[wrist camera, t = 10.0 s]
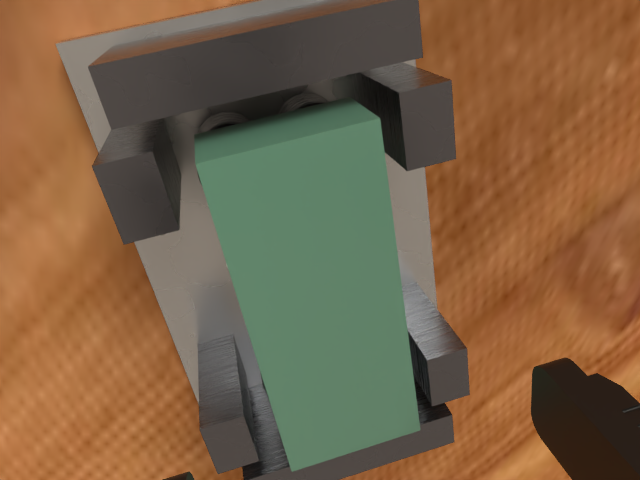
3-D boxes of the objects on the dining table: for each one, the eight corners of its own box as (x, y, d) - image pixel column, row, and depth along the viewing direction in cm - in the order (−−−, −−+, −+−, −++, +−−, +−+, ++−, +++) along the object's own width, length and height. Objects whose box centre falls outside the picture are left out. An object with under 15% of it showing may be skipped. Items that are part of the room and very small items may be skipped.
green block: (194, 134, 16) (195, 164, 13) (349, 96, 17) (380, 118, 14) (279, 412, 22) (291, 471, 19) (393, 377, 22) (420, 430, 20)
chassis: (62, 41, 18) (8, 65, 12) (397, -30, 19) (476, -35, 14) (209, 417, 26) (214, 527, 21) (433, 349, 27) (492, 436, 22)
